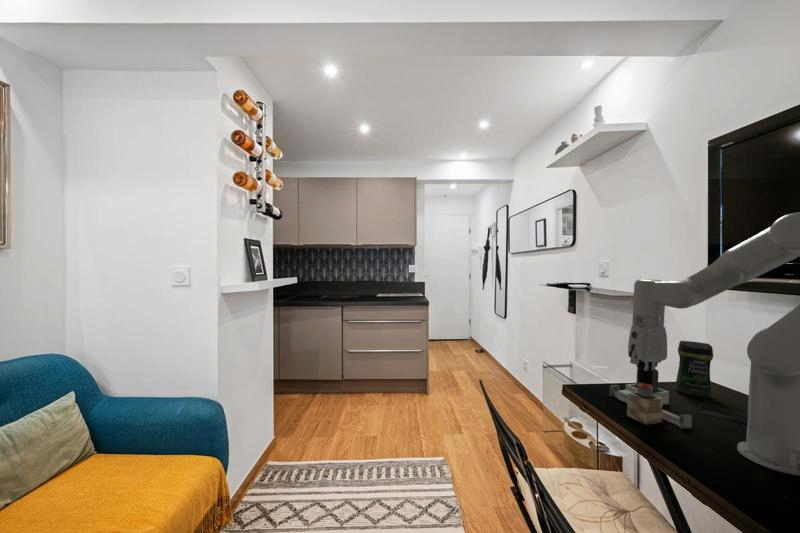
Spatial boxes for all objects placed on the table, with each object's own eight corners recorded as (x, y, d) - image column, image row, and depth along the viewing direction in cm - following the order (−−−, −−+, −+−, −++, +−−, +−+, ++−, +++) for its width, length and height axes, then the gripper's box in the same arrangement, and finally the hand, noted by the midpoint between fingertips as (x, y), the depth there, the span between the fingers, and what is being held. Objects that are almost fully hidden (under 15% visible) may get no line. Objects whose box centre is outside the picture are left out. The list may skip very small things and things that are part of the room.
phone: (767, 427, 97) (697, 409, 108) (767, 431, 97) (697, 413, 108) (766, 418, 102) (700, 402, 113) (766, 422, 102) (700, 405, 113)
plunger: (655, 404, 101) (656, 387, 101) (645, 405, 100) (646, 388, 99) (643, 399, 104) (644, 382, 104) (633, 400, 103) (634, 383, 103)
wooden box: (661, 422, 100) (662, 398, 100) (645, 424, 98) (646, 400, 98) (642, 413, 106) (643, 390, 106) (626, 415, 104) (627, 392, 104)
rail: (691, 427, 97) (691, 415, 97) (683, 429, 96) (683, 416, 96) (616, 394, 120) (617, 384, 120) (609, 395, 119) (609, 385, 119)
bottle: (650, 397, 118) (652, 354, 118) (661, 405, 112) (663, 359, 112) (632, 396, 119) (633, 353, 118) (642, 404, 113) (644, 358, 112)
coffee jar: (678, 394, 122) (680, 342, 121) (673, 387, 128) (675, 338, 128) (714, 400, 117) (716, 346, 116) (707, 392, 124) (709, 341, 123)
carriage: (668, 403, 113) (669, 391, 112) (637, 407, 109) (637, 395, 109) (644, 393, 121) (644, 382, 120) (614, 397, 117) (614, 385, 117)
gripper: (640, 324, 96) (637, 389, 96) (680, 323, 100) (676, 385, 100) (616, 319, 103) (613, 380, 103) (654, 318, 107) (651, 376, 108)
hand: (644, 382), depth 102 cm, fingers closed
